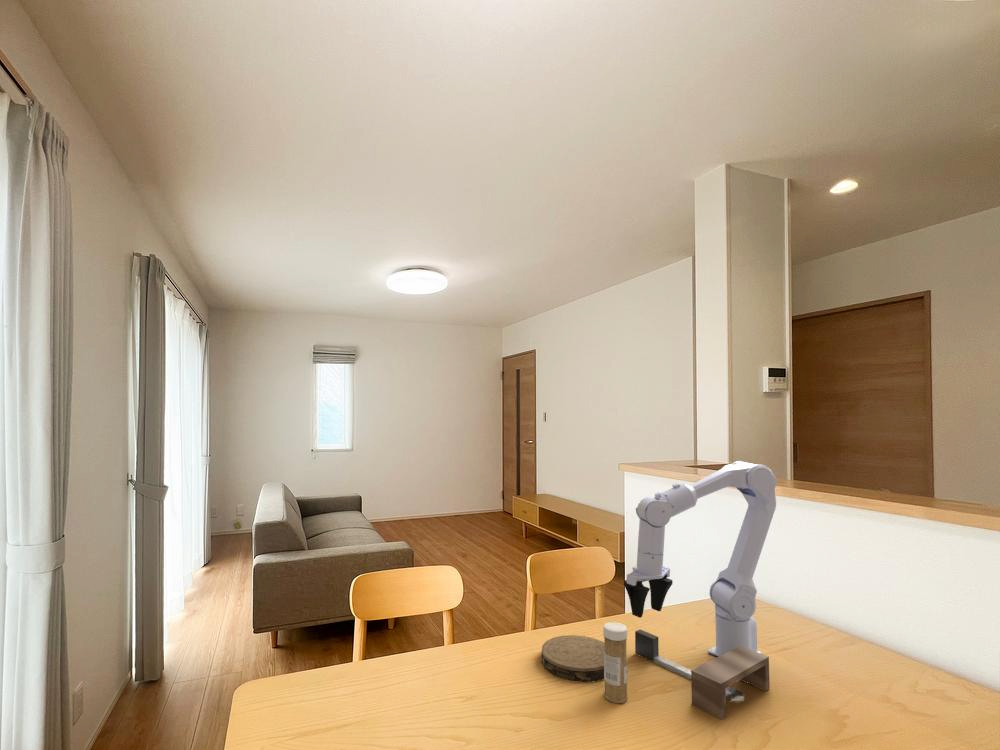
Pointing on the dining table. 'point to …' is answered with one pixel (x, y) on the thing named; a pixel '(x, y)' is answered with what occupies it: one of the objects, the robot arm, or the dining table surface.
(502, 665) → the dining table surface
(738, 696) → the steel token
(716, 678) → the walnut shelf
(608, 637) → the sprinkles bottle
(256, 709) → the dining table surface
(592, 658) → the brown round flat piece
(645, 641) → the blade tool
